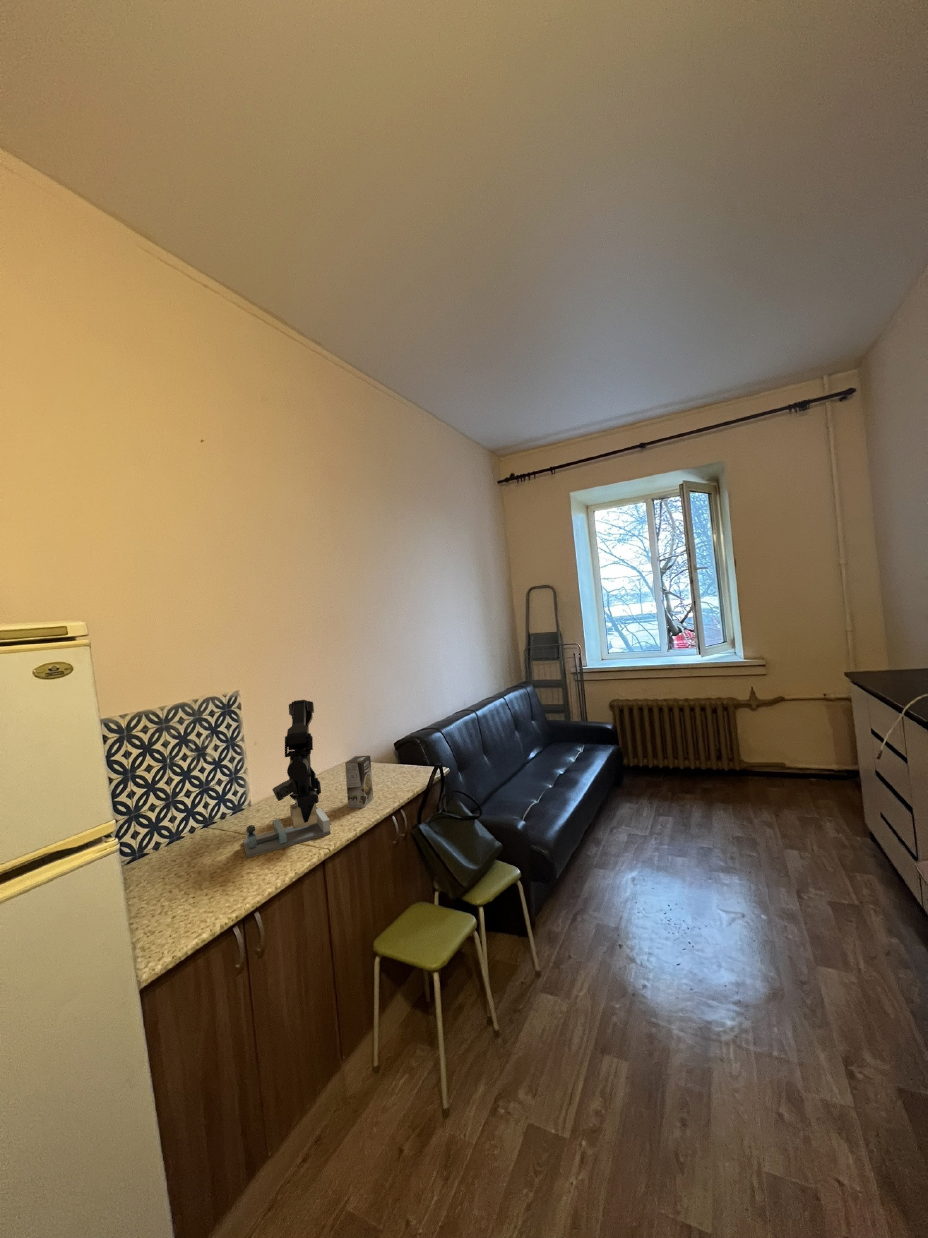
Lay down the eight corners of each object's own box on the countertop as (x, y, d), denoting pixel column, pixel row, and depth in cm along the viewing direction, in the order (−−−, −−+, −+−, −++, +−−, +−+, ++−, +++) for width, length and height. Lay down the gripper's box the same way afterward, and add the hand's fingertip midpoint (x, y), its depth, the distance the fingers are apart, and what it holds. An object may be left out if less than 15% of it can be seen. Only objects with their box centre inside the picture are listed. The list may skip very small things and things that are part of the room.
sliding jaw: (245, 837, 149) (244, 819, 149) (280, 828, 154) (278, 811, 154) (249, 852, 139) (248, 833, 139) (286, 842, 144) (285, 823, 144)
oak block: (291, 823, 153) (289, 805, 153) (313, 817, 156) (312, 799, 156) (294, 829, 148) (292, 810, 148) (317, 823, 152) (315, 804, 152)
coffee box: (364, 808, 170) (361, 762, 170) (347, 808, 171) (344, 762, 171) (374, 798, 179) (371, 755, 179) (358, 798, 180) (354, 755, 180)
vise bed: (243, 842, 149) (241, 828, 149) (321, 821, 161) (320, 808, 161) (247, 858, 138) (245, 842, 138) (330, 834, 150) (329, 819, 150)
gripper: (269, 769, 156) (272, 817, 156) (278, 784, 140) (282, 837, 140) (304, 761, 162) (307, 808, 162) (317, 775, 146) (321, 826, 146)
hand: (304, 819), depth 152 cm, fingers closed on oak block, 5 cm apart
